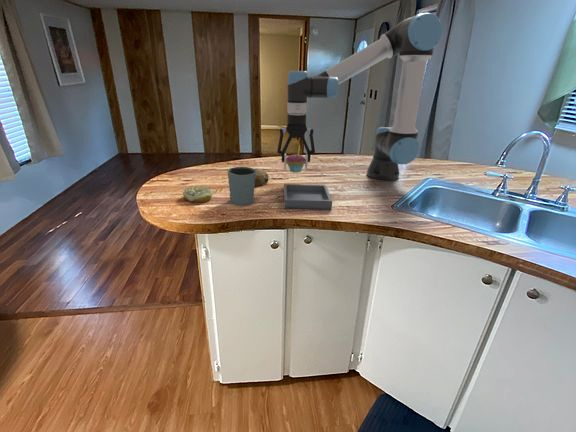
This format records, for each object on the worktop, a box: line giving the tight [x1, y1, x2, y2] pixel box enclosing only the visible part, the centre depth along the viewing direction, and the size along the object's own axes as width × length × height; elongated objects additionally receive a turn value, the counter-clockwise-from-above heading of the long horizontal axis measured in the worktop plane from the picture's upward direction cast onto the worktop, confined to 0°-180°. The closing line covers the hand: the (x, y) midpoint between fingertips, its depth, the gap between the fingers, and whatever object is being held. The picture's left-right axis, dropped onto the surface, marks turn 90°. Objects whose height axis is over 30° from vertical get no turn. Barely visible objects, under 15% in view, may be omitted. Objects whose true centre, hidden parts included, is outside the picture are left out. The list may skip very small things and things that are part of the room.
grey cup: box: [227, 166, 256, 207], centre depth 113 cm, size 10×10×12 cm
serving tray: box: [283, 183, 333, 211], centre depth 117 cm, size 17×17×4 cm
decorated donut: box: [182, 185, 213, 204], centre depth 116 cm, size 10×11×4 cm
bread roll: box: [254, 168, 269, 187], centre depth 135 cm, size 10×10×8 cm
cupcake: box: [286, 144, 306, 174], centre depth 129 cm, size 9×8×12 cm
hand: (295, 169), depth 131 cm, fingers closed on cupcake, 8 cm apart
